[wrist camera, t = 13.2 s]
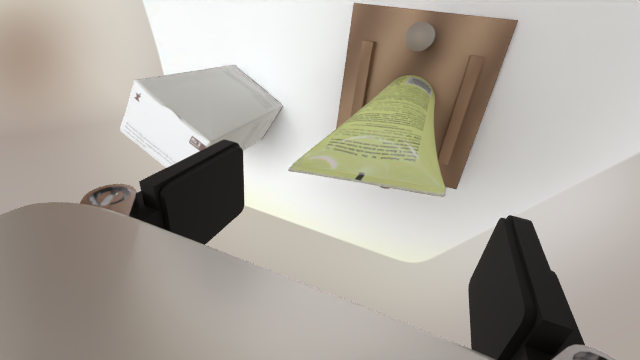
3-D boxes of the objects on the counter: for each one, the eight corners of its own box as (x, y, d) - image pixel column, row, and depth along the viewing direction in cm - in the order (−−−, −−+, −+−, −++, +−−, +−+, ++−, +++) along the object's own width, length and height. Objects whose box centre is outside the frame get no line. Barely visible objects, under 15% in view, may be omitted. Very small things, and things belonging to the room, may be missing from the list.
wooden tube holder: (514, 21, 26) (535, 17, 20) (455, 183, 34) (457, 218, 27) (357, 4, 30) (334, -4, 24) (336, 153, 37) (313, 178, 31)
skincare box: (217, 99, 40) (113, 130, 28) (235, 61, 37) (127, 75, 25) (265, 141, 40) (183, 190, 28) (287, 105, 37) (206, 143, 25)
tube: (397, 137, 32) (346, 245, 16) (368, 98, 32) (285, 170, 15) (446, 105, 30) (446, 196, 13) (416, 61, 29) (375, 100, 12)
